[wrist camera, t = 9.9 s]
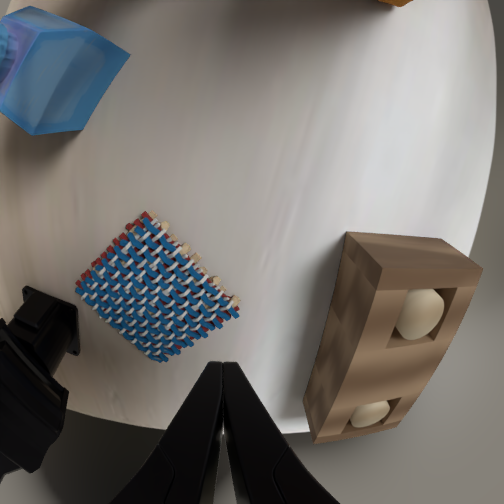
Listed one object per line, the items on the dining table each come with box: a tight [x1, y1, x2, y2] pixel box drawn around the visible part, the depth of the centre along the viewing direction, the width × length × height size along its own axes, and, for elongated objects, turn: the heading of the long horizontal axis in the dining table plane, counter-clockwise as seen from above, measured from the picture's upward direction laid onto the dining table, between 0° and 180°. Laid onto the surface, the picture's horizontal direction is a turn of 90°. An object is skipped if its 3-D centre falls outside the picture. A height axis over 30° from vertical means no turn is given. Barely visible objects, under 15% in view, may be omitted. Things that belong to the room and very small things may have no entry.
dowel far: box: [350, 400, 390, 427], centre depth 25 cm, size 4×4×6 cm
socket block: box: [303, 232, 483, 444], centre depth 22 cm, size 20×10×6 cm, turn 176°
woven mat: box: [75, 210, 241, 363], centre depth 21 cm, size 10×11×2 cm
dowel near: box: [395, 289, 444, 340], centre depth 20 cm, size 4×4×6 cm
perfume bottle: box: [0, 6, 130, 136], centre depth 9 cm, size 6×6×12 cm
